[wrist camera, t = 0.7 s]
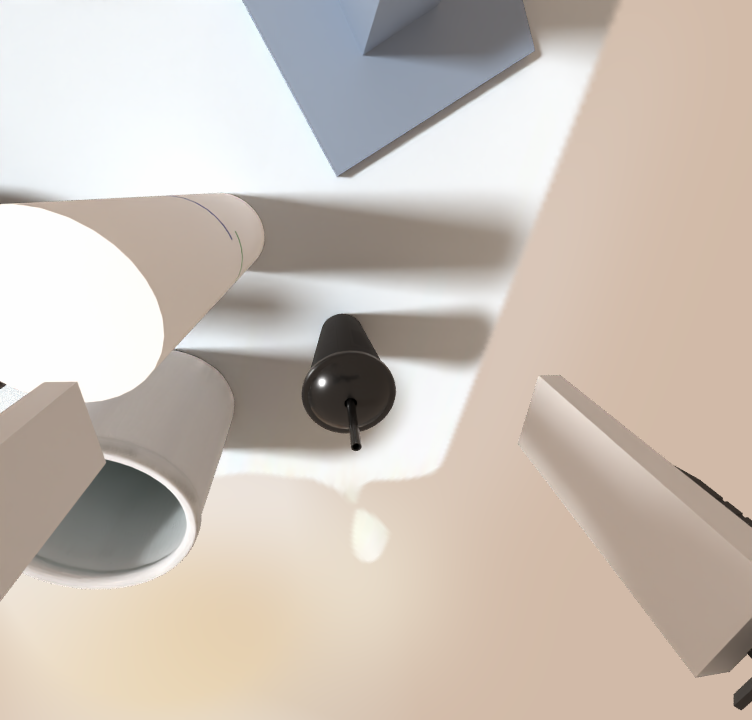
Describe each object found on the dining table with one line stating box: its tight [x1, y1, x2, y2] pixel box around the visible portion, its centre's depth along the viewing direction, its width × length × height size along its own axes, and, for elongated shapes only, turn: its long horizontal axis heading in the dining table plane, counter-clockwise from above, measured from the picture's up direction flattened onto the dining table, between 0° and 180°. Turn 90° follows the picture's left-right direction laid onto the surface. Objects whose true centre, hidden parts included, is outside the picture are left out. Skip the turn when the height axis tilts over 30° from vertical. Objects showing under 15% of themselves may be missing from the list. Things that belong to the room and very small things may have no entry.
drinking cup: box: [302, 314, 396, 451], centre depth 32 cm, size 8×8×20 cm
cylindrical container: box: [0, 193, 265, 402], centre depth 23 cm, size 7×7×25 cm
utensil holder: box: [22, 350, 234, 589], centre depth 34 cm, size 15×15×18 cm
